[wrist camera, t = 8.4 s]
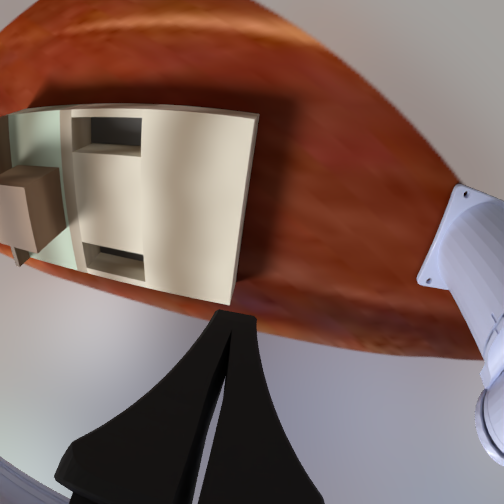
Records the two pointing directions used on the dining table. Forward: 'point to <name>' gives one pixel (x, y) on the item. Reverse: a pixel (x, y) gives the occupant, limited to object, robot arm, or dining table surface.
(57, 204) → the walnut block
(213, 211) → the box
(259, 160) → the dining table surface
